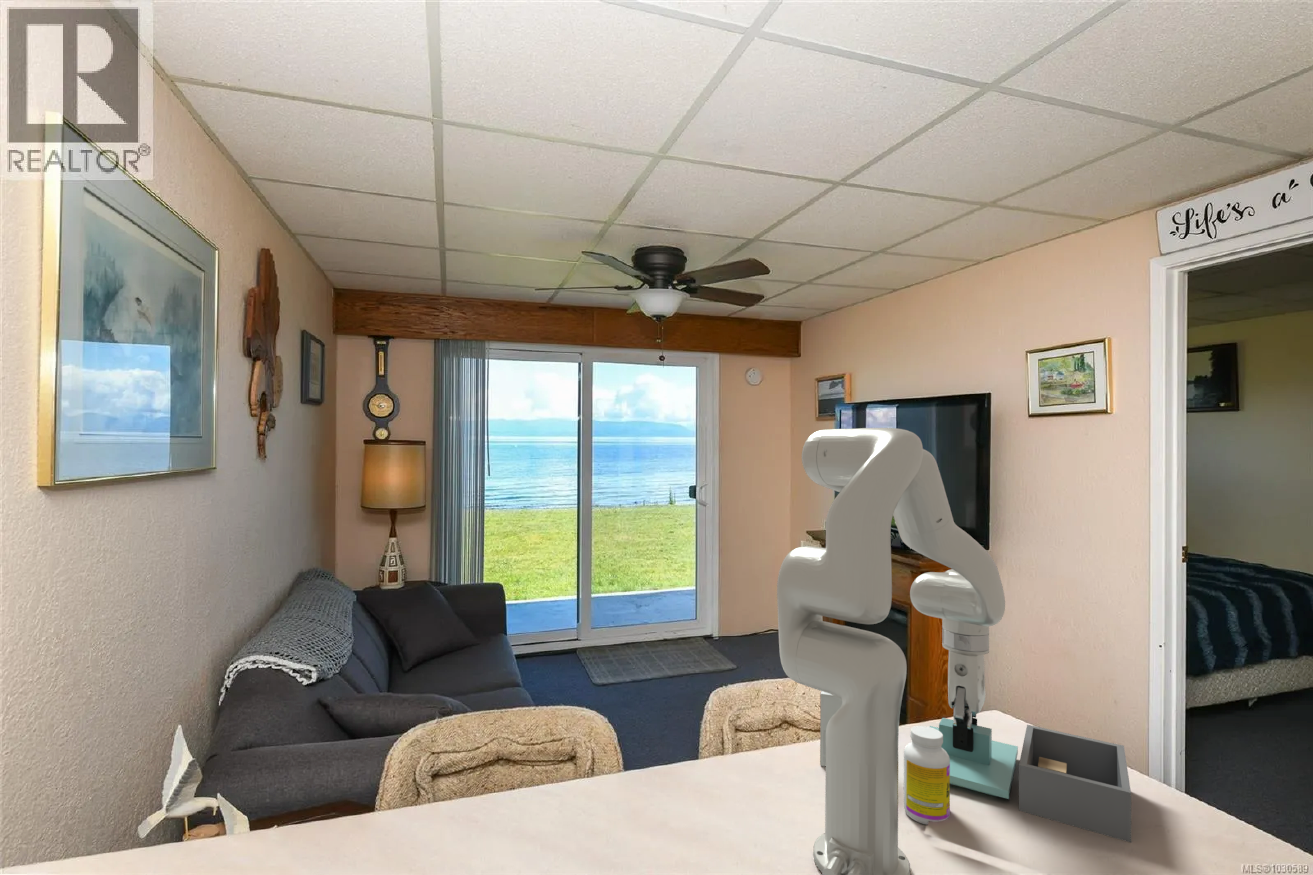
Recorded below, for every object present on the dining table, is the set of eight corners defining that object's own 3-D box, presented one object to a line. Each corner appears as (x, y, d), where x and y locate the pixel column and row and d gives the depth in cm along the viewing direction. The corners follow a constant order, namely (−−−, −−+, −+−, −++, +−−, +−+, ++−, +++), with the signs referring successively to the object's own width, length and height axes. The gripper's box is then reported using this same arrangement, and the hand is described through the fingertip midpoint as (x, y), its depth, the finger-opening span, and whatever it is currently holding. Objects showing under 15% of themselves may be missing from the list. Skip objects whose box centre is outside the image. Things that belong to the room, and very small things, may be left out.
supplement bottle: (954, 830, 94) (955, 744, 95) (908, 824, 96) (908, 739, 96) (943, 806, 101) (944, 725, 101) (900, 801, 102) (900, 721, 102)
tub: (1131, 849, 90) (1131, 792, 90) (1019, 816, 98) (1019, 764, 98) (1124, 794, 105) (1123, 745, 105) (1027, 769, 113) (1027, 724, 113)
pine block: (1066, 791, 104) (1066, 773, 104) (1037, 784, 106) (1037, 766, 106) (1066, 781, 107) (1066, 763, 107) (1039, 774, 109) (1039, 756, 109)
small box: (823, 746, 121) (823, 678, 121) (858, 752, 119) (858, 682, 119) (819, 766, 113) (819, 693, 114) (856, 772, 111) (856, 698, 111)
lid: (1008, 809, 99) (1008, 759, 99) (908, 780, 108) (908, 734, 108) (1017, 762, 115) (1017, 718, 115) (929, 740, 123) (930, 700, 124)
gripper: (982, 656, 103) (982, 769, 102) (994, 633, 117) (994, 733, 116) (933, 648, 107) (933, 756, 107) (950, 626, 121) (950, 722, 120)
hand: (965, 743), depth 111 cm, fingers open, 4 cm apart
